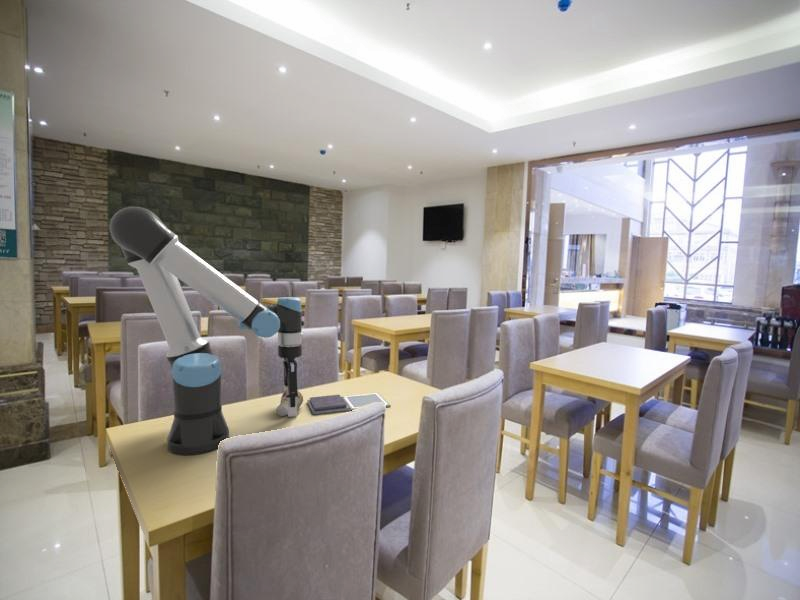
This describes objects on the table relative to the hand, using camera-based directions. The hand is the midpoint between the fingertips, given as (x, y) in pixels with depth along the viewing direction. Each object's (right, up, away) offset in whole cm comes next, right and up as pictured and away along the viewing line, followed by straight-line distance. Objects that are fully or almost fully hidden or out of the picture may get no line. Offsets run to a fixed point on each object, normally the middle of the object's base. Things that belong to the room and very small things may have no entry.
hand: (290, 410), depth 136 cm
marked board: (+24, 0, +9) cm, 26 cm away
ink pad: (+12, 0, +5) cm, 12 cm away
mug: (0, -1, -1) cm, 1 cm away
